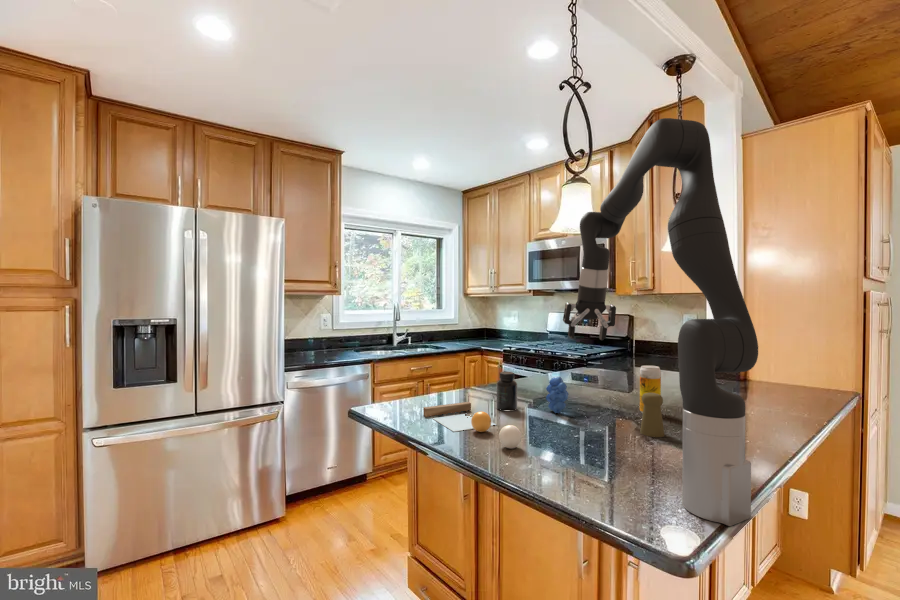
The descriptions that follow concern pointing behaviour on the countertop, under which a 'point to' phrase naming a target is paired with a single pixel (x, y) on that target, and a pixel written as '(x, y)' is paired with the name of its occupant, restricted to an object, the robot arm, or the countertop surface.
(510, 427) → the cue ball
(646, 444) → the countertop surface
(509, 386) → the supplement bottle
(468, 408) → the wooden stick
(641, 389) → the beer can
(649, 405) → the olive tall flared piece
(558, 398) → the grapes
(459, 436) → the countertop surface
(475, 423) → the orange ball
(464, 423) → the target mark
